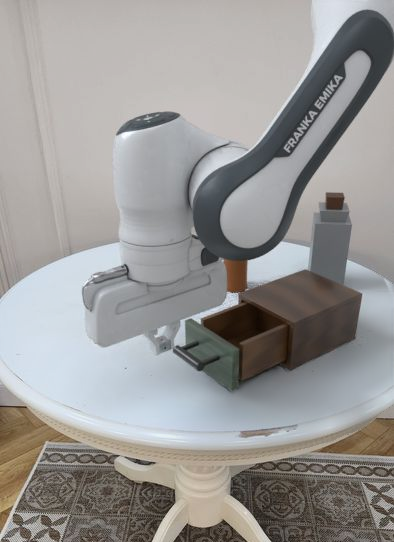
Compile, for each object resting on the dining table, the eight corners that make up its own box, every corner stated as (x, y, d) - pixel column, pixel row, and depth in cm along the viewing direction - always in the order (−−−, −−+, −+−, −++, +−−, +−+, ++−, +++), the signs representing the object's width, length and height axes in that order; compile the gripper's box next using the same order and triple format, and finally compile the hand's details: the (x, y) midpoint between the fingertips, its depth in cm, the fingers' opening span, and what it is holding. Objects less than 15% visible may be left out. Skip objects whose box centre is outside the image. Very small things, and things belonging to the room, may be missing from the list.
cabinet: (289, 371, 83) (294, 322, 78) (237, 338, 91) (238, 293, 87) (355, 339, 90) (362, 293, 86) (301, 311, 99) (305, 268, 94)
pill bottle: (252, 288, 108) (255, 210, 99) (233, 295, 105) (235, 215, 97) (236, 280, 111) (238, 204, 103) (217, 286, 109) (217, 209, 100)
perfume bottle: (307, 275, 113) (315, 189, 103) (339, 276, 112) (351, 190, 102) (308, 288, 107) (317, 199, 98) (342, 290, 106) (355, 200, 97)
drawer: (208, 402, 75) (208, 362, 71) (164, 366, 83) (161, 328, 79) (302, 357, 84) (306, 319, 81) (253, 329, 92) (255, 293, 88)
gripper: (92, 287, 58) (106, 389, 66) (235, 244, 69) (232, 336, 76) (67, 269, 63) (83, 366, 70) (205, 231, 73) (206, 320, 80)
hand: (162, 350), depth 73 cm, fingers closed
